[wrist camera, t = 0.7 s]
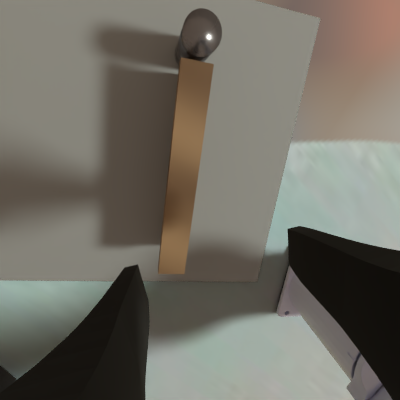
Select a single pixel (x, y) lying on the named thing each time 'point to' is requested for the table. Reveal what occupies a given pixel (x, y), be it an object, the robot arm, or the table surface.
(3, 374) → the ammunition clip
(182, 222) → the brown rectangular bar
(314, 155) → the table surface
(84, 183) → the mat
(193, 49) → the hinge post
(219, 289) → the table surface
